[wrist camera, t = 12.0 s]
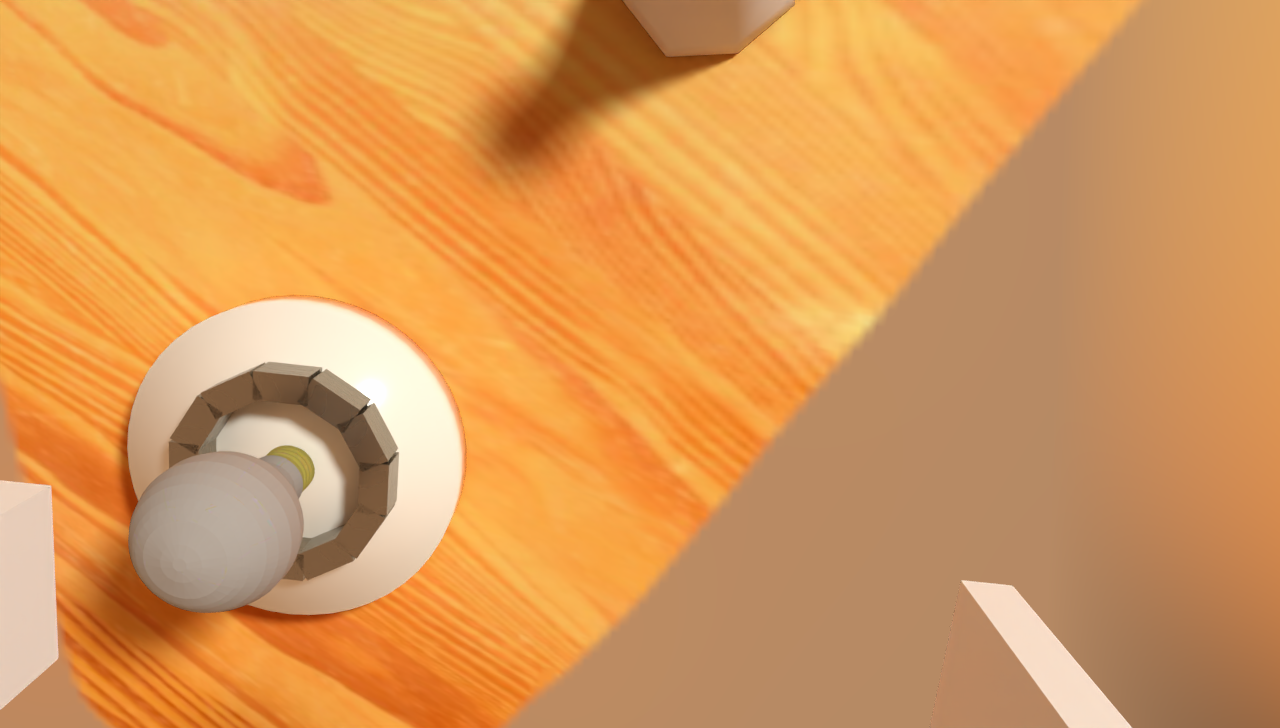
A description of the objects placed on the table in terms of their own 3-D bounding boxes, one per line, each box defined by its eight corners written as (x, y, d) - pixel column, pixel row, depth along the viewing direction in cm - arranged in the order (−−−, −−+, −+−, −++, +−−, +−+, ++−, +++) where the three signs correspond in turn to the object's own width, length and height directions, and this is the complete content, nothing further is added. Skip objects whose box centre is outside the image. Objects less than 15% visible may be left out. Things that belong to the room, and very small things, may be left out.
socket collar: (187, 352, 38) (168, 361, 36) (403, 376, 38) (392, 385, 36) (188, 551, 40) (169, 567, 38) (392, 571, 40) (382, 589, 38)
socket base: (149, 277, 39) (124, 285, 37) (477, 314, 39) (468, 322, 37) (153, 577, 42) (130, 598, 40) (456, 607, 43) (447, 630, 41)
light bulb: (355, 532, 39) (260, 653, 30) (228, 514, 39) (91, 631, 30) (365, 411, 38) (270, 496, 28) (234, 393, 38) (94, 472, 28)
